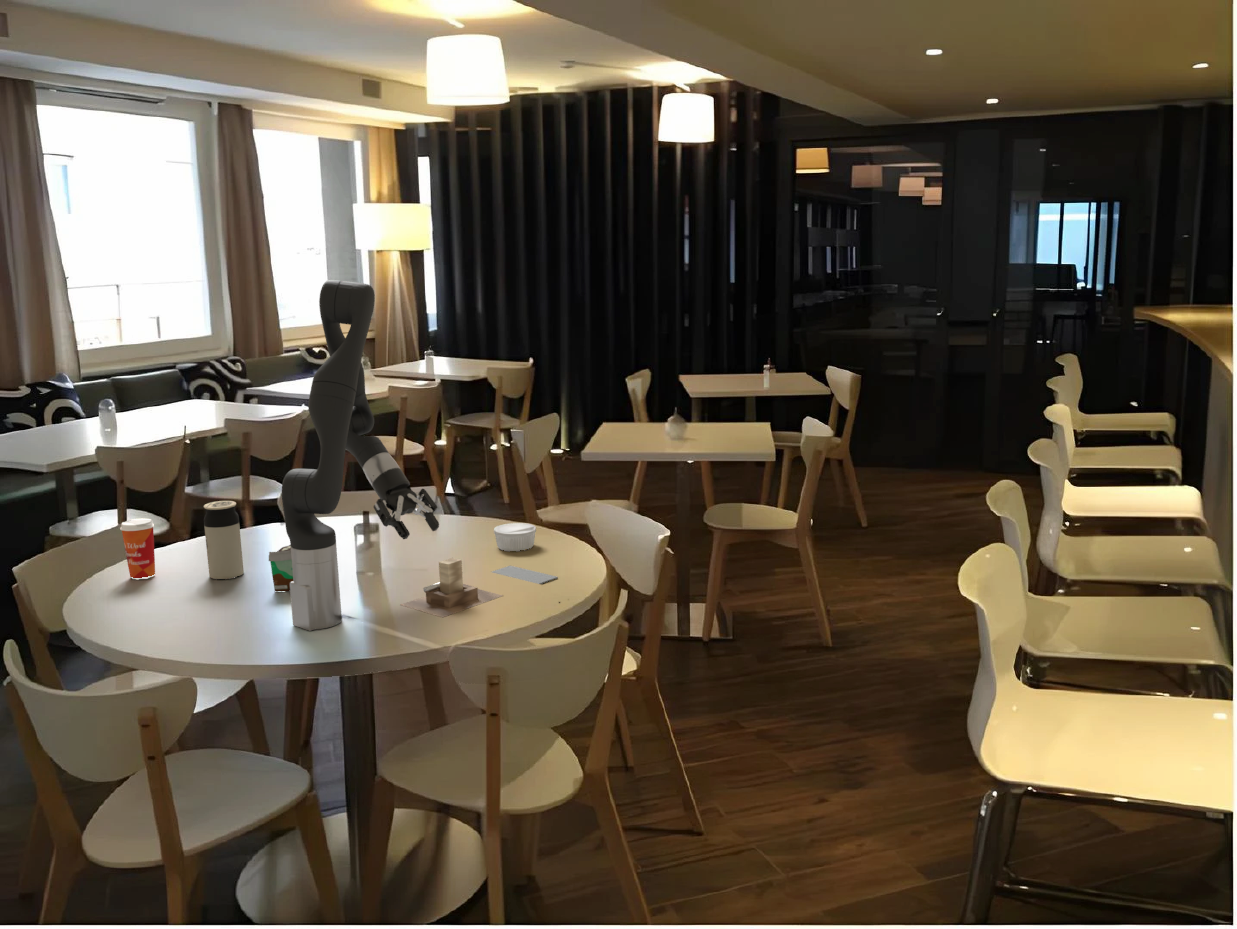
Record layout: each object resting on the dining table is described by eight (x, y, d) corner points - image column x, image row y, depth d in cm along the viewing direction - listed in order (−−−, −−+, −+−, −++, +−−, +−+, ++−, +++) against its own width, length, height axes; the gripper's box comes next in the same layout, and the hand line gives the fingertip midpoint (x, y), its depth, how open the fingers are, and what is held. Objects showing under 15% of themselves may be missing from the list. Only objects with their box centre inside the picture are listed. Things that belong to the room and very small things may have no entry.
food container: (295, 595, 247) (292, 553, 245) (271, 594, 249) (267, 552, 247) (320, 579, 259) (317, 539, 257) (297, 578, 260) (294, 538, 258)
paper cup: (118, 580, 262) (112, 524, 259) (141, 571, 269) (135, 517, 266) (145, 582, 259) (139, 526, 257) (167, 573, 267) (161, 518, 264)
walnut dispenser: (442, 621, 228) (441, 600, 227) (400, 609, 236) (398, 588, 235) (503, 599, 241) (502, 579, 240) (461, 588, 250) (460, 569, 249)
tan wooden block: (450, 603, 236) (447, 564, 234) (440, 601, 238) (438, 562, 236) (463, 599, 239) (461, 560, 237) (454, 596, 241) (452, 557, 239)
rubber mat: (503, 597, 242) (503, 596, 242) (455, 585, 253) (455, 583, 252) (557, 578, 256) (557, 576, 256) (510, 567, 266) (510, 565, 266)
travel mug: (248, 570, 268) (242, 500, 264) (236, 580, 260) (229, 507, 256) (217, 570, 268) (210, 500, 264) (204, 580, 260) (196, 508, 257)
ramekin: (527, 554, 277) (526, 534, 276) (487, 551, 281) (486, 532, 280) (543, 543, 288) (542, 524, 287) (504, 540, 291) (504, 521, 290)
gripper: (367, 472, 239) (404, 530, 234) (417, 461, 250) (453, 516, 245) (354, 492, 243) (390, 549, 238) (403, 481, 254) (438, 535, 249)
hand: (421, 532), depth 241 cm, fingers open, 8 cm apart
